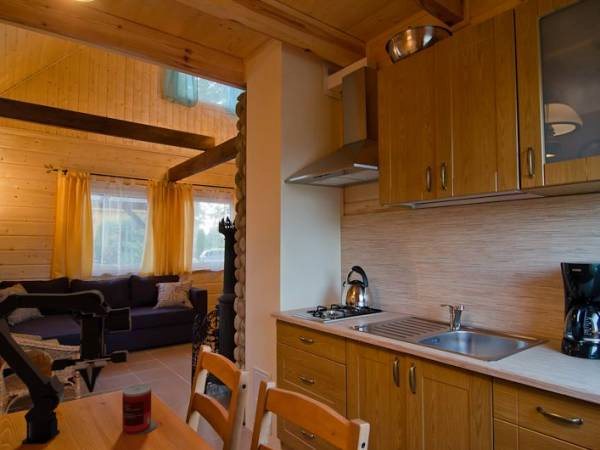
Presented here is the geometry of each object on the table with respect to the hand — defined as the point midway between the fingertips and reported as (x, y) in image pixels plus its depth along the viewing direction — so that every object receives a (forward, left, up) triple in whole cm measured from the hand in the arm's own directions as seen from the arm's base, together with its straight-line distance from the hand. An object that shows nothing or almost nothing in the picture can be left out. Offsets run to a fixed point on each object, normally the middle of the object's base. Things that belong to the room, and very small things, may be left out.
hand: (91, 392), depth 107 cm
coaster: (+13, +4, -12) cm, 18 cm away
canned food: (+11, +4, -12) cm, 17 cm away
